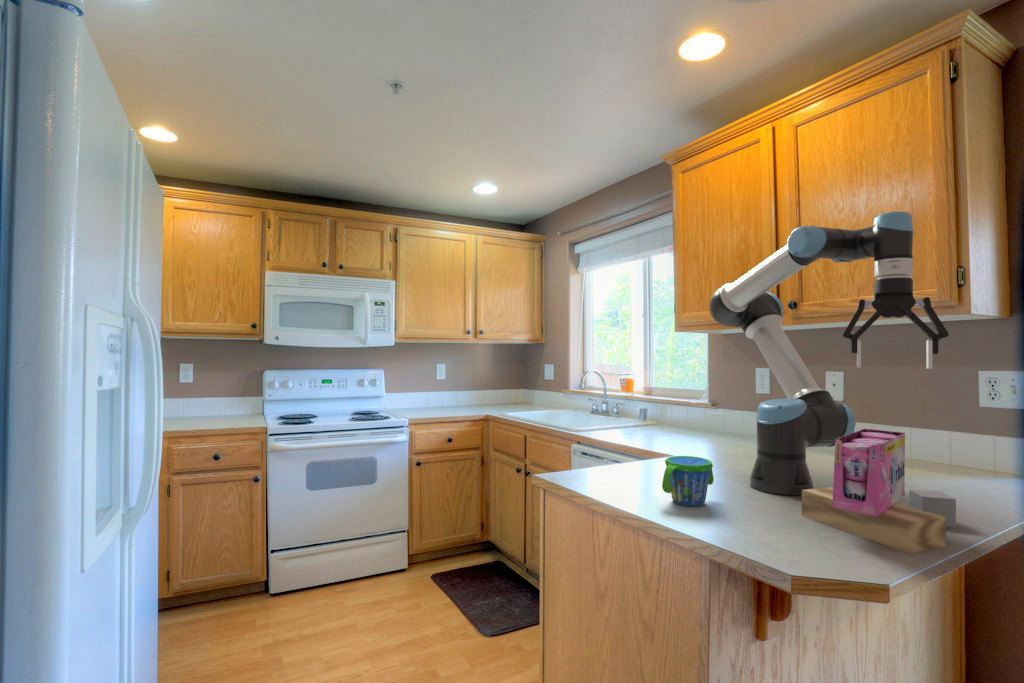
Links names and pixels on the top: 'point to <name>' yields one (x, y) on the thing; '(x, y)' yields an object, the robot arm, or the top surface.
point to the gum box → (869, 471)
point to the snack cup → (687, 479)
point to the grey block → (934, 504)
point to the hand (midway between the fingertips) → (893, 368)
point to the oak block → (879, 522)
